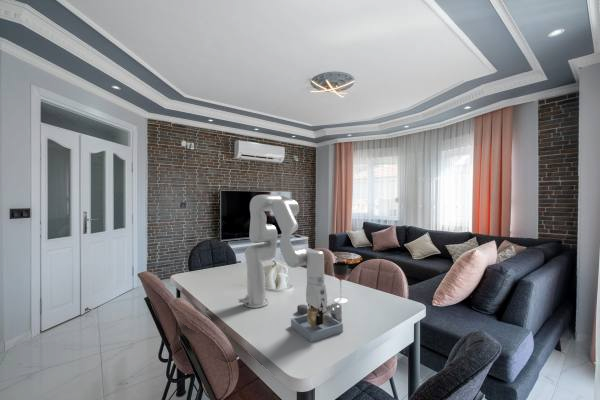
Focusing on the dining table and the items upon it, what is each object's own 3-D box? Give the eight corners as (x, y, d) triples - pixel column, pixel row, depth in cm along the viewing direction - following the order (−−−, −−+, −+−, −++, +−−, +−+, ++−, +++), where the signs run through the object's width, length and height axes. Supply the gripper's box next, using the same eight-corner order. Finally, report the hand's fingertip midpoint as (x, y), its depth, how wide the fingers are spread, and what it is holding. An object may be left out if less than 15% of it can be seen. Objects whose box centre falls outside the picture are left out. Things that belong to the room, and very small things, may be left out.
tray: (310, 342, 106) (310, 333, 106) (291, 326, 119) (290, 318, 119) (342, 331, 114) (342, 323, 114) (320, 317, 128) (320, 310, 128)
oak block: (325, 323, 116) (324, 309, 116) (313, 327, 113) (313, 312, 113) (318, 319, 120) (318, 306, 120) (307, 322, 117) (307, 309, 117)
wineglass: (339, 304, 143) (339, 266, 144) (330, 299, 151) (329, 263, 151) (351, 301, 147) (351, 264, 147) (342, 296, 155) (341, 261, 155)
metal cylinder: (335, 324, 121) (335, 308, 121) (328, 320, 125) (328, 305, 125) (343, 321, 123) (343, 306, 123) (337, 317, 127) (336, 302, 128)
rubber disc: (300, 315, 131) (300, 309, 131) (295, 312, 135) (295, 305, 135) (309, 313, 133) (309, 307, 133) (304, 309, 138) (304, 303, 138)
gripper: (334, 283, 111) (335, 327, 111) (312, 273, 126) (312, 313, 126) (319, 286, 108) (320, 332, 108) (298, 276, 122) (298, 317, 122)
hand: (316, 321), depth 117 cm, fingers closed on oak block, 4 cm apart
